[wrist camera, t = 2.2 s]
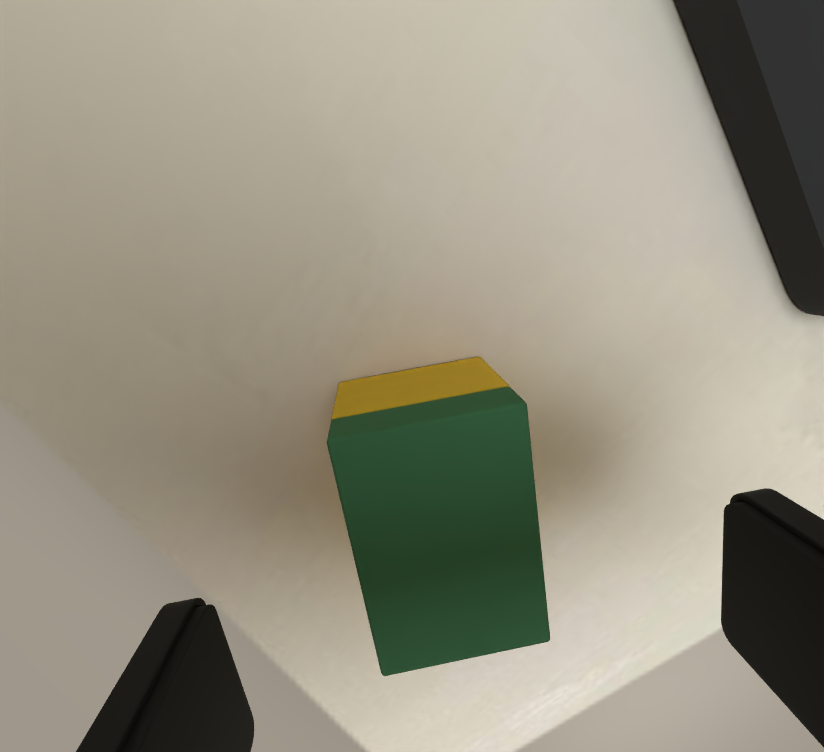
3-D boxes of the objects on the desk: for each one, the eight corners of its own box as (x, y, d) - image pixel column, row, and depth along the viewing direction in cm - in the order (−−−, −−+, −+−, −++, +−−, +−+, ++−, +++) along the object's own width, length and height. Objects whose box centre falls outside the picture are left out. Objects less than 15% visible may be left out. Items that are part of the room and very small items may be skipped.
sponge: (503, 538, 15) (551, 642, 11) (378, 563, 14) (381, 678, 11) (480, 355, 13) (528, 402, 9) (338, 381, 13) (325, 440, 9)
